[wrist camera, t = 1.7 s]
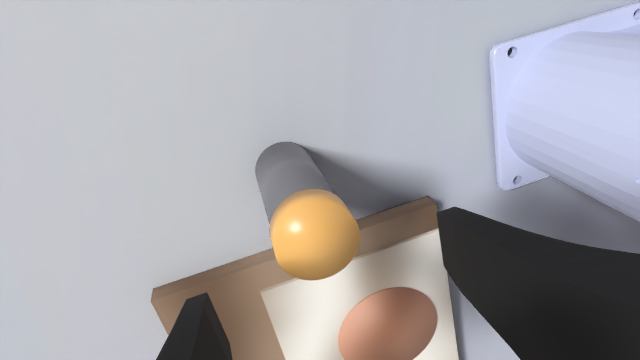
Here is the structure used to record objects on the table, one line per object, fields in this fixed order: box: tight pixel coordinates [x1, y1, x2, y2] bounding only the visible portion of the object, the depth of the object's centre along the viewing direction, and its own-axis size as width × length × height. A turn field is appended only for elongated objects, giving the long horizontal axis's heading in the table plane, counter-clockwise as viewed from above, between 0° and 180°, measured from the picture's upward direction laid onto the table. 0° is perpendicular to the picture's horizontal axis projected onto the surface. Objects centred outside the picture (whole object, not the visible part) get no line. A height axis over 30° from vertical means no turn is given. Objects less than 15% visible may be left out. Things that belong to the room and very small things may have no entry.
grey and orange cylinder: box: [256, 142, 360, 281], centre depth 18 cm, size 3×3×7 cm
